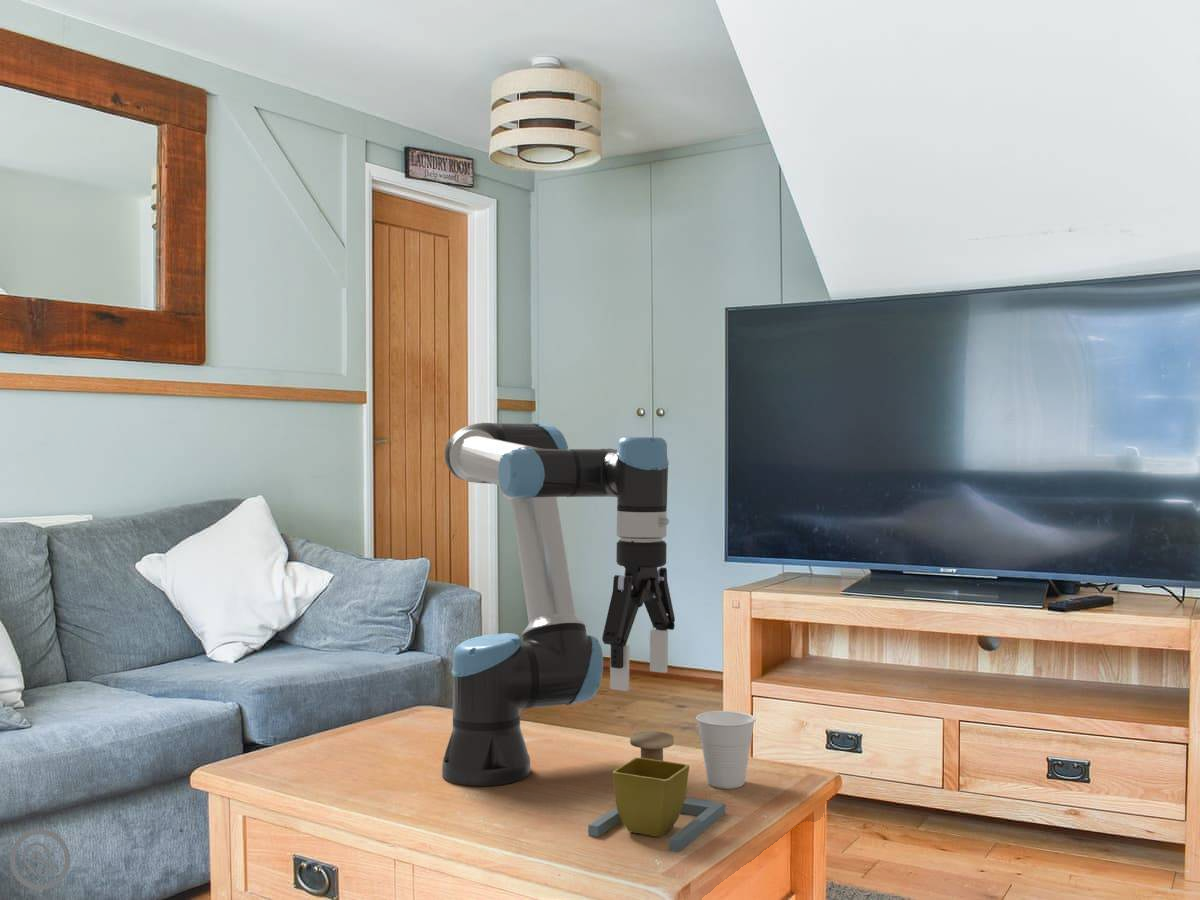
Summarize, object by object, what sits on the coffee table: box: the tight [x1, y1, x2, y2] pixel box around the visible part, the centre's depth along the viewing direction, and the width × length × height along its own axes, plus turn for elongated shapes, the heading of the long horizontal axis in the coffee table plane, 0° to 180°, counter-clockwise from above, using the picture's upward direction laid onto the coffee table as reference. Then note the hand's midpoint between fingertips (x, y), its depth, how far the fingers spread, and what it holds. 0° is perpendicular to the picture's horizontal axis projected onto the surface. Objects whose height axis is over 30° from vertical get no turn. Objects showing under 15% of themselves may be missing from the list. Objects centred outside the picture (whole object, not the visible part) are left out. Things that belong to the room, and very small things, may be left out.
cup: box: [695, 710, 756, 790], centre depth 169 cm, size 10×10×11 cm
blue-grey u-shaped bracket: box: [587, 796, 726, 853], centre depth 149 cm, size 18×14×2 cm
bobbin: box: [629, 731, 674, 761], centre depth 164 cm, size 7×7×9 cm
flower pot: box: [612, 756, 690, 838], centre depth 147 cm, size 9×9×9 cm
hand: (639, 680), depth 153 cm, fingers open, 13 cm apart
